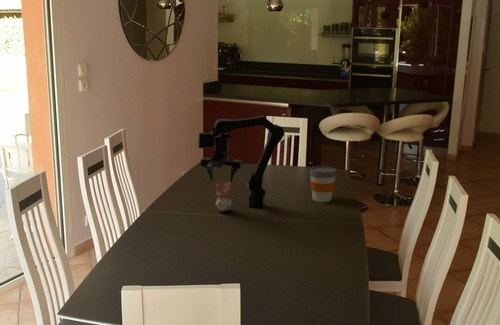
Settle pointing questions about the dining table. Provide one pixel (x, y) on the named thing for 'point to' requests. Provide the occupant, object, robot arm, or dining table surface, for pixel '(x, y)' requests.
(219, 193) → the terracotta block
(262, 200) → the robot arm
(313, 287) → the dining table surface
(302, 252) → the dining table surface
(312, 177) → the reusable coffee cup
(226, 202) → the game die
